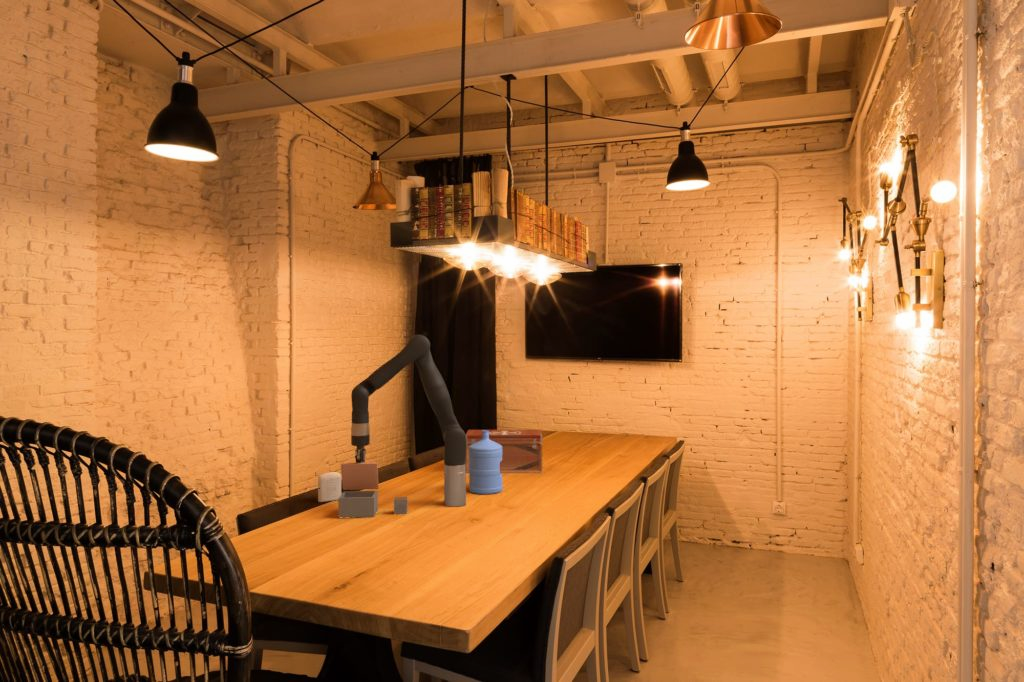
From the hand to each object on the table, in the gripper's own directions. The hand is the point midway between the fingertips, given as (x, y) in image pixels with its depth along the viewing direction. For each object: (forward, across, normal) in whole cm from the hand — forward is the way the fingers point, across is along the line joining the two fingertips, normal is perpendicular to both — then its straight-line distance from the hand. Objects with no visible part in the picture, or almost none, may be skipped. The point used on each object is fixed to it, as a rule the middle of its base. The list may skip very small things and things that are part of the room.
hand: (360, 475), depth 284 cm
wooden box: (+15, +77, -64) cm, 101 cm away
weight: (+14, -7, -17) cm, 23 cm away
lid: (0, -3, 0) cm, 3 cm away
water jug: (+15, +29, -53) cm, 62 cm away
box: (+14, -7, 0) cm, 16 cm away
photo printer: (+15, +17, +16) cm, 28 cm away
